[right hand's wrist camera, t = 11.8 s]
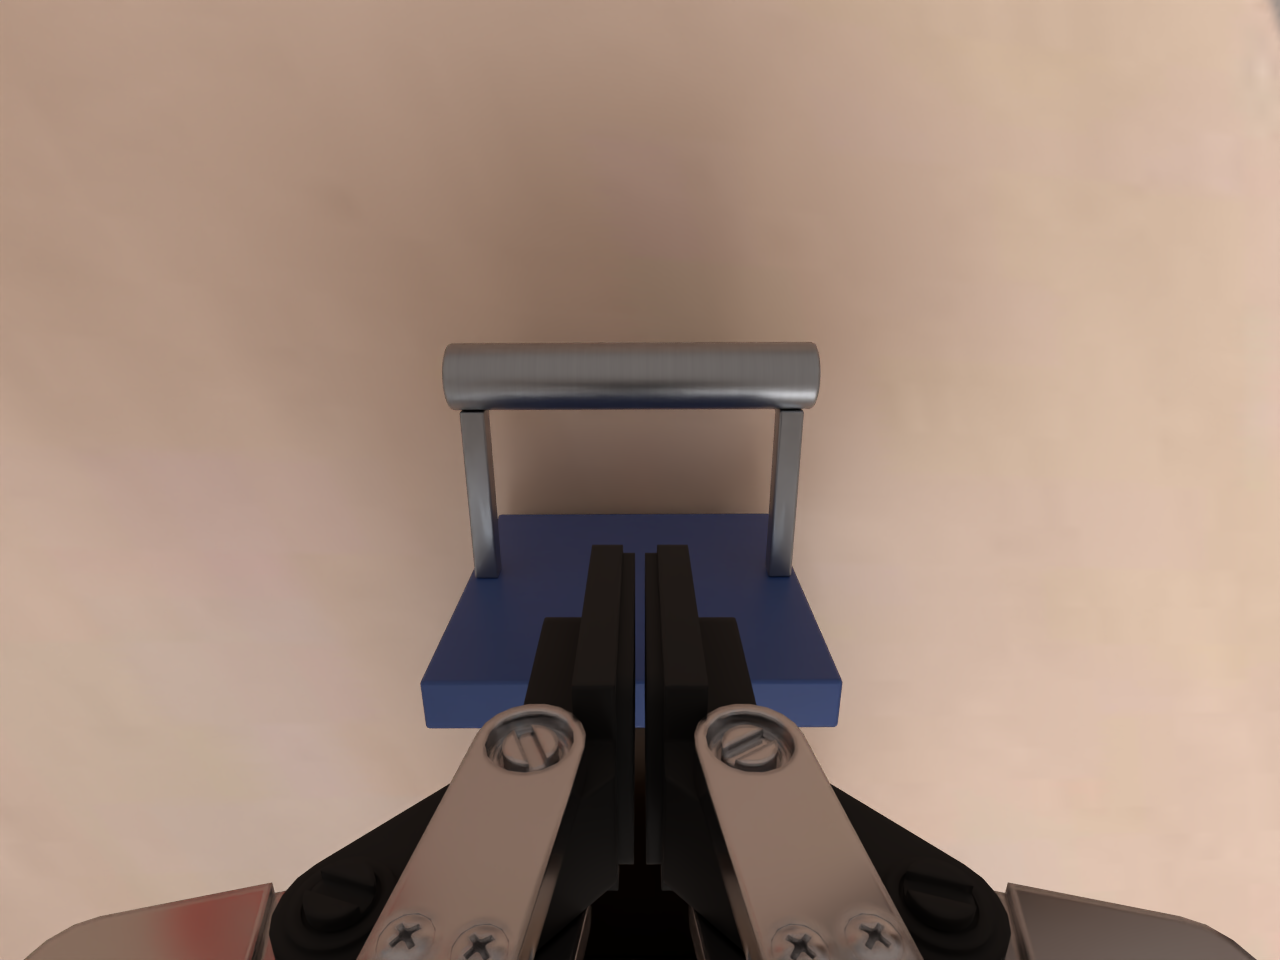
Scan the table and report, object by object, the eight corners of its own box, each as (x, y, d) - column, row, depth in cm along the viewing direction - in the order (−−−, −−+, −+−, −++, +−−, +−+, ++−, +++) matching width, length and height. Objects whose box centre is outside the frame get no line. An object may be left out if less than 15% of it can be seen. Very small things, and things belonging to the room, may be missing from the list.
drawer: (483, 320, 20) (378, 389, 12) (783, 319, 20) (878, 387, 12) (533, 944, 29) (492, 1225, 21) (742, 943, 29) (781, 1224, 21)
